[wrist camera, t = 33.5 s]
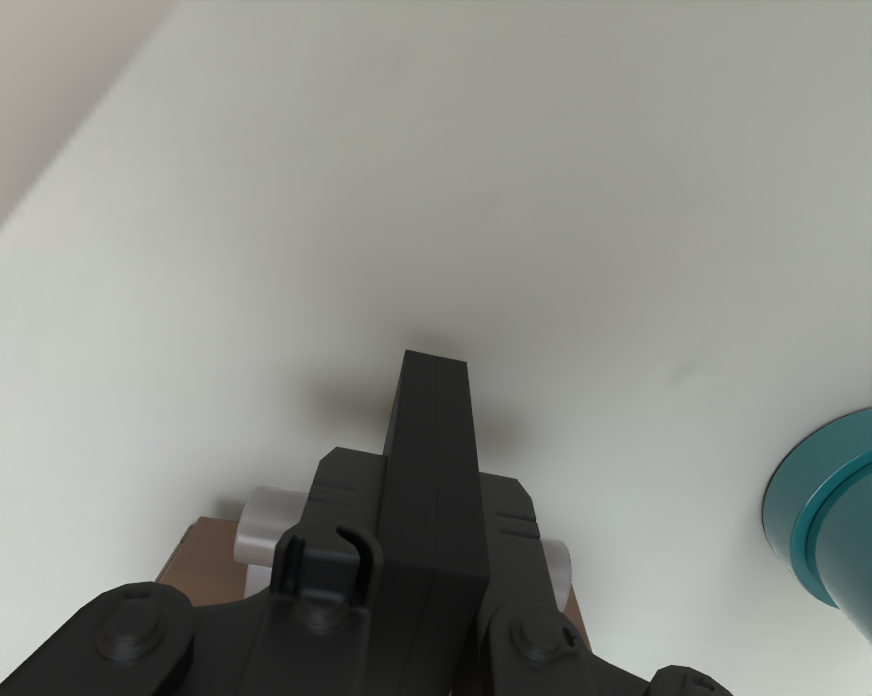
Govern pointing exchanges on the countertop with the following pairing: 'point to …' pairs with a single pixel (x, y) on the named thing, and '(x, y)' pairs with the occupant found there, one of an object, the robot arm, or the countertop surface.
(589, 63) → the countertop surface
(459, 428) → the robot arm
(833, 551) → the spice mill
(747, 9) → the countertop surface
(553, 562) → the drawer
